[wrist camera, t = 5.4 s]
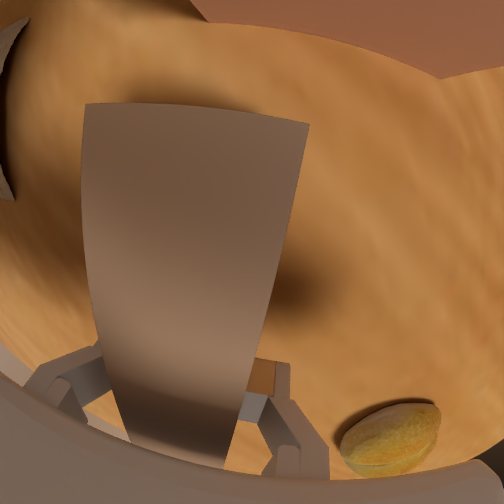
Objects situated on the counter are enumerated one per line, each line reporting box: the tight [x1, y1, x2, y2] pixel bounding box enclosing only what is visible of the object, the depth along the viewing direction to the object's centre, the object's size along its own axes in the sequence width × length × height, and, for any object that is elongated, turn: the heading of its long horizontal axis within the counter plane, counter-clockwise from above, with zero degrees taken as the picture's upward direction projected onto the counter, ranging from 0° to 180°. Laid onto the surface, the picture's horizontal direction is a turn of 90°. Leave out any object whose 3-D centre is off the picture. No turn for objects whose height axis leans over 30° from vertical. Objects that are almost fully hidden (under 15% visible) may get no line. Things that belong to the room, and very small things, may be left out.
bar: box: [81, 103, 310, 469], centre depth 9 cm, size 16×4×5 cm, turn 170°
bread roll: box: [340, 403, 441, 478], centre depth 16 cm, size 8×9×4 cm
